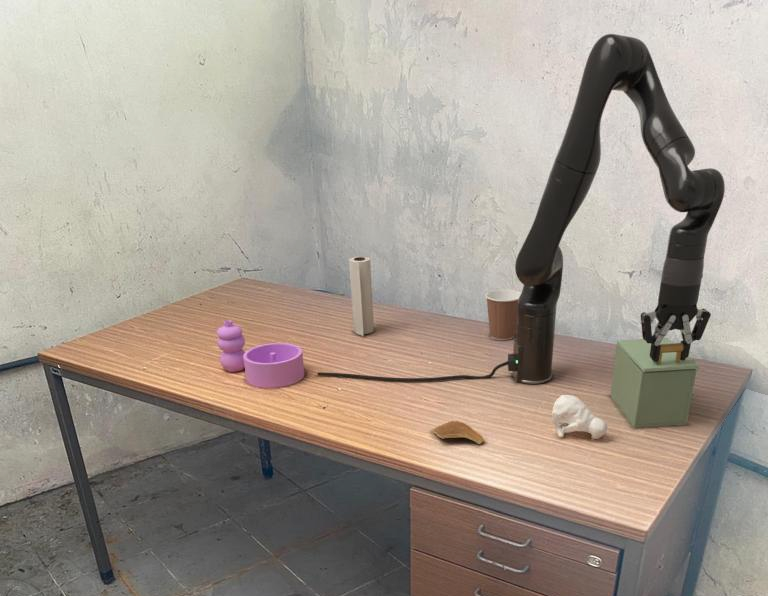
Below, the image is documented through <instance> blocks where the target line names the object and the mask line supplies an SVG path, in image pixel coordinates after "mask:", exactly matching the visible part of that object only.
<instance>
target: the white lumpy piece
mask: <svg viewBox="0 0 768 596" xmlns="http://www.w3.org/2000/svg"><path fill="white" fill-rule="evenodd" d="M551 417H552V423H553V427H554V429H555V432H556V434H557V435H558V437H559V438H564V436H565V433H573V432H585V433H588V434H591V437H590V438H591V441H593V440H599V439H601V438H602V437H603V436H605V435H606V433H607V431H608V424H607V422H606V421H605V420H603V419H602V418H599V417H596V416H595V414H593V413H592V410H591V409H590V408H588V406H587V405H586V403H584V402H583V401H582V400H581V399H580V398H578V397H577V396H575V395H571V394H562V395H560V396H559V397H558V398H557V399H556V400H555V401H554V404H553V407H552V412H551Z"/></svg>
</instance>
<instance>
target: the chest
mask: <svg viewBox="0 0 768 596" xmlns="http://www.w3.org/2000/svg"><path fill="white" fill-rule="evenodd" d="M613 361H614V363H613V369H612V376H611V377H612V378H611V385H610V394H609V395H610V397H611V399H612V400H613V401H614V403H615V404H616V405H617V406H618V408H619V409H620V410H621V412H622V413H623V415H624V416H625V418H626V419H627V420H628V422H629V423H630V424H631V426H632V428H634V429H639V428H641V429H642V428H653V427H655V428H656V427H657V428H658V427H669V426H670V427H672V426H685V425H687V424H688V419H689V413H690V410H691V409H690V407H691V403H692V397H693V391H694V386H695V381H696V375H697V370H698V369H684V370H668V371H652V372H643V371H642V370H641V368H640V367H639V366H638V365H637V364H636V363H635V362H634V361H633V360H632V359H631V358H630V357H629V356H628V355H627V354H626V353H625V352H624V351H623V350H622V349H621V348H620V347H619V346H618V345H617V344H616V346H615V353H614V360H613Z"/></svg>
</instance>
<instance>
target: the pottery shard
mask: <svg viewBox="0 0 768 596" xmlns="http://www.w3.org/2000/svg"><path fill="white" fill-rule="evenodd" d="M432 433H433V434H434V435H436V436H437V437H438V438H441V439H442V440H444V439H455V438H456V439H458V438H465V439H468V440H470V441H473V442H474V443H476V444H479V445H481V444H483V443H484V442H485V440H484V437H483V436H482V435H481V434H480V433H479V432H477V431H476V430H475V429H473V428H472V427H471V426H470V425H468V424H466V423H464V422H463V421H457V420H451V421H448V422H446V423H443V424H441V425H438V426H436V427H434V428H433V429H432Z"/></svg>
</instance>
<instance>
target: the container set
mask: <svg viewBox="0 0 768 596" xmlns="http://www.w3.org/2000/svg"><path fill="white" fill-rule="evenodd" d="M216 335H217V337H218V339H217V340H216V341H217V347H218V348H219V349H220V350H221V351H222V352H221V354H220V356H219V362H220V366H221V367H222V368H223V369H225V370H226V371H227V372H228V373H229V372H230V373H236V372H242V371H243V370H244V372H245V379H246V382H247V383H248V384H249V385H250V386H253V387H256V388H263V389H277V388H284V387H287V386H292V385H294V384H296V383H298V382H300V381H301V380H302V379H304V378H305V374H306V373H305V366H304V365H305V363H304V356H303V349H302V348H301V346H298V345H296V344H292V343H286V342H273V343H265V344H261V345H256V346H253V347H251V348H249V349H247V350H246V351H245V350H244V349H243V348H244V346H245V344H246V339H245V336H243V328H242V327H241V326H239V325H237V324H233V320H232V319H226V320H224V321H223V325H222V326H220V327H219V328H218V329H217V331H216Z"/></svg>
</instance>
